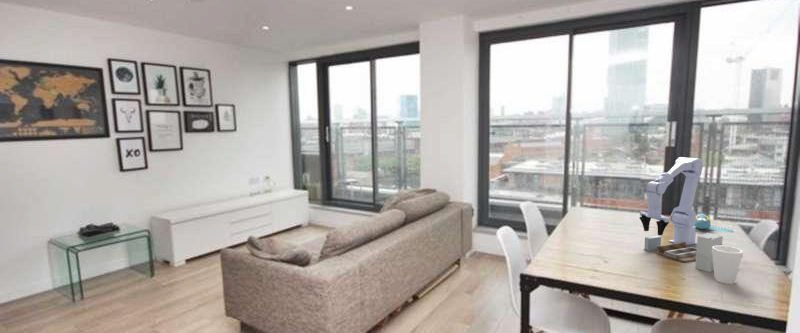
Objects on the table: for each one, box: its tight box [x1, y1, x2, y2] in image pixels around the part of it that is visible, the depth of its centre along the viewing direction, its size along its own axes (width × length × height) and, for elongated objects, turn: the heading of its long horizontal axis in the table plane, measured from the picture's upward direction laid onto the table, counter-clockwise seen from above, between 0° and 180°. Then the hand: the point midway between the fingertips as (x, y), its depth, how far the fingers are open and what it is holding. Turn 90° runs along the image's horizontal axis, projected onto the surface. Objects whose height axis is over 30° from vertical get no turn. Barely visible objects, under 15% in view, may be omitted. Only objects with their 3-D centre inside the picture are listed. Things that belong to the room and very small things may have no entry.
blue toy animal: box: [672, 213, 734, 233], centre depth 227 cm, size 28×9×15 cm
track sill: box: [656, 242, 697, 264], centre depth 185 cm, size 17×13×4 cm
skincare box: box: [694, 232, 724, 273], centre depth 169 cm, size 8×6×15 cm
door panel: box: [643, 235, 662, 251], centre depth 196 cm, size 8×2×6 cm, turn 106°
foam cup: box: [712, 244, 744, 285], centre depth 157 cm, size 10×9×13 cm
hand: (653, 232), depth 195 cm, fingers open, 7 cm apart
